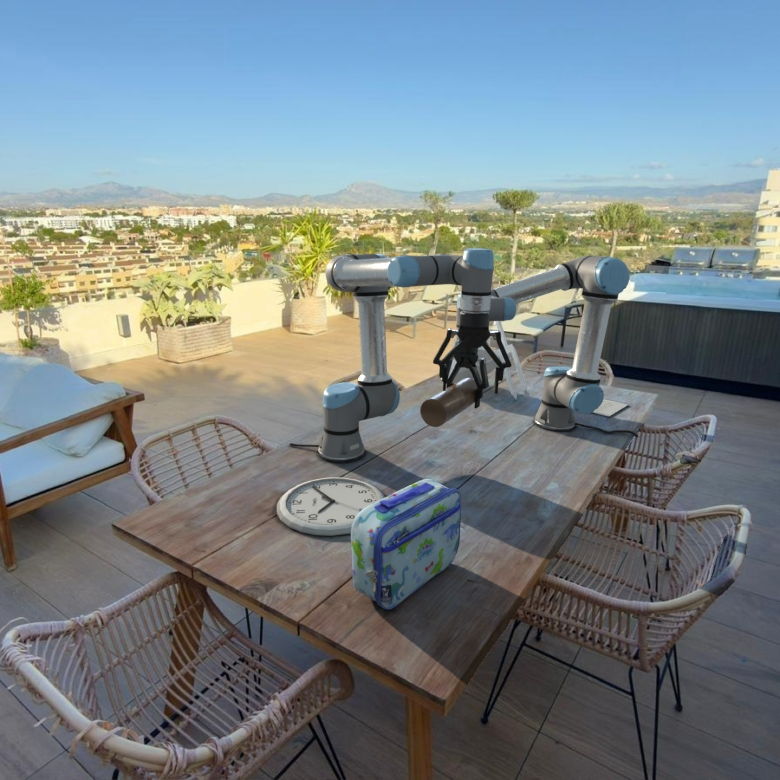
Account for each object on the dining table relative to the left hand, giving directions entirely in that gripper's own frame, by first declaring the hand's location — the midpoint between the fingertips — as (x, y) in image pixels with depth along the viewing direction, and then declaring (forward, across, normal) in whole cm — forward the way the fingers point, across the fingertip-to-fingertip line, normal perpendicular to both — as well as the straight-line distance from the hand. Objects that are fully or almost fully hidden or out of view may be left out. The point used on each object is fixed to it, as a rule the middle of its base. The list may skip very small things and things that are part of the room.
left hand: (469, 391), depth 139 cm
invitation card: (+31, +61, +89) cm, 112 cm away
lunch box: (+31, -12, -39) cm, 52 cm away
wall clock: (+31, -36, -10) cm, 49 cm away
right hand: (+16, 0, +36) cm, 40 cm away
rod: (+17, -4, +28) cm, 32 cm away
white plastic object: (+31, +9, +101) cm, 106 cm away
